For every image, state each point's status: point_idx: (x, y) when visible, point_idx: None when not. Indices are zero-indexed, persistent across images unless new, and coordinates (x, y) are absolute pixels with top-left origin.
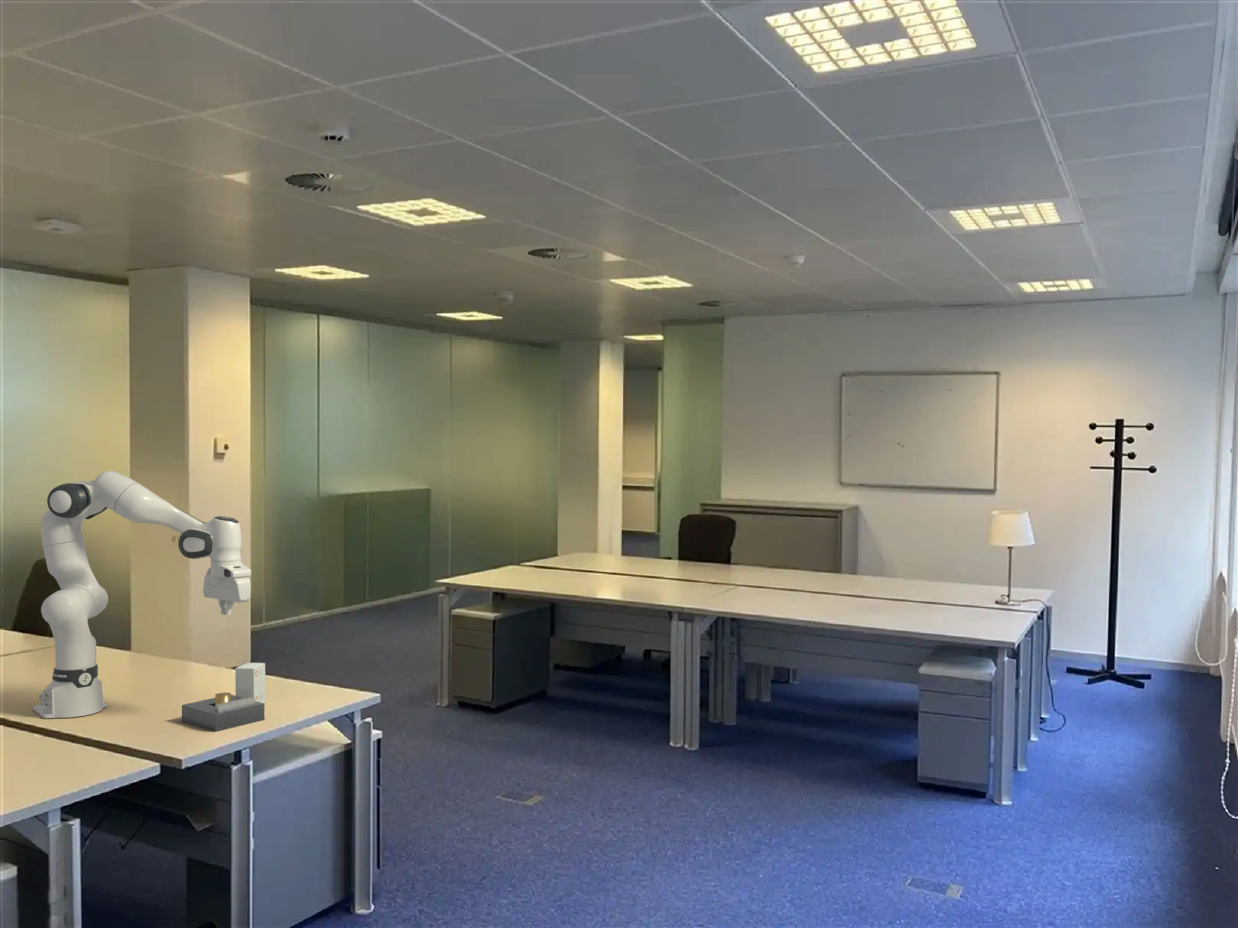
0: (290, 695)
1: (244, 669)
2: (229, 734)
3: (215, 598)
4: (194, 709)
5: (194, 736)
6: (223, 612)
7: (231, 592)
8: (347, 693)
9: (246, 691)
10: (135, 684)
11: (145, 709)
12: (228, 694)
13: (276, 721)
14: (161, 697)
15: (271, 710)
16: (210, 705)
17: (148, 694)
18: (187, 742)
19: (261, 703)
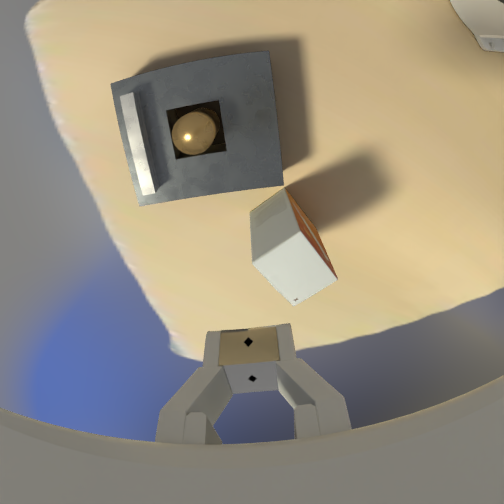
0: None
1: (274, 245)
2: (91, 101)
3: (381, 424)
4: (204, 59)
5: (122, 40)
6: (250, 337)
7: (29, 498)
8: None
9: (265, 219)
10: None
11: (422, 65)
12: (180, 144)
13: (124, 204)
14: (472, 139)
15: (213, 232)
16: (206, 100)
17: (498, 140)
18: (94, 24)
19: (141, 200)
